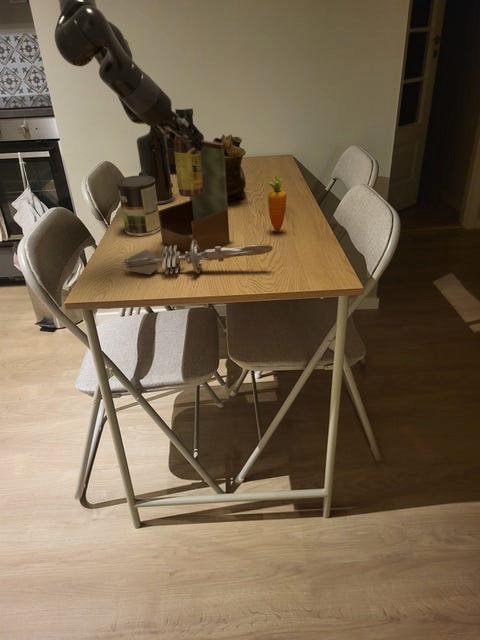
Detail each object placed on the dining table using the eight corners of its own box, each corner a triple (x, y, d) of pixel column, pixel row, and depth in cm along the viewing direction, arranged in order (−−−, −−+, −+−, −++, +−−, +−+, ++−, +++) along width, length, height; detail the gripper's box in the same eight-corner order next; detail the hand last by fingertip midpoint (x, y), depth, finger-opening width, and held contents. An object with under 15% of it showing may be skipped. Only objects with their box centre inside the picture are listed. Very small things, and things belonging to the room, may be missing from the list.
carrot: (281, 236, 127) (281, 180, 119) (265, 233, 129) (264, 178, 122) (289, 230, 131) (290, 175, 123) (273, 227, 133) (273, 173, 125)
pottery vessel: (214, 186, 169) (209, 127, 159) (244, 185, 169) (242, 126, 159) (214, 209, 148) (209, 143, 137) (248, 207, 148) (246, 141, 138)
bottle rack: (162, 243, 127) (149, 146, 114) (195, 230, 134) (187, 137, 121) (196, 257, 118) (186, 153, 105) (230, 242, 125) (224, 144, 112)
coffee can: (129, 238, 130) (120, 188, 123) (122, 226, 139) (113, 178, 131) (165, 231, 134) (158, 182, 126) (156, 220, 142) (149, 173, 134)
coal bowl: (197, 160, 203) (193, 113, 194) (214, 170, 188) (210, 119, 178) (152, 166, 197) (145, 118, 187) (165, 178, 181) (159, 126, 171)
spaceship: (271, 248, 101) (270, 222, 106) (115, 266, 106) (120, 240, 110) (275, 272, 108) (273, 247, 112) (128, 288, 112) (132, 263, 116)
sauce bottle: (199, 198, 115) (192, 110, 105) (175, 197, 116) (165, 110, 106) (206, 190, 121) (200, 105, 110) (183, 189, 122) (175, 106, 111)
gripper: (117, 110, 105) (166, 155, 118) (156, 116, 96) (204, 163, 109) (133, 81, 105) (180, 129, 118) (174, 84, 96) (220, 135, 109)
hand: (192, 145), depth 114 cm, fingers closed on sauce bottle, 6 cm apart
